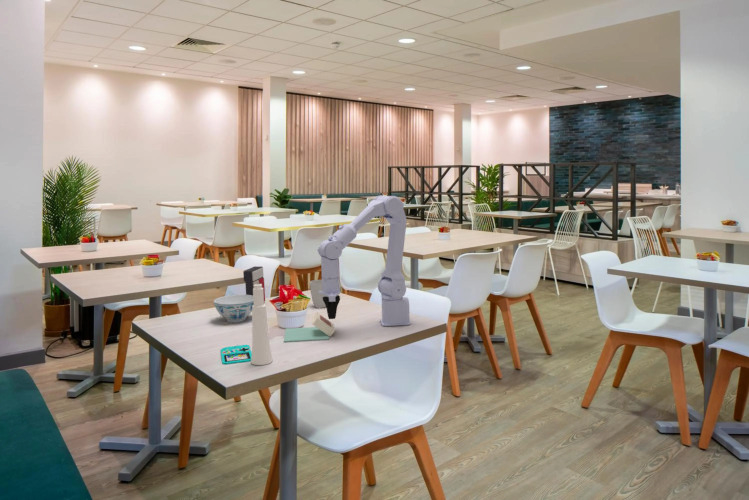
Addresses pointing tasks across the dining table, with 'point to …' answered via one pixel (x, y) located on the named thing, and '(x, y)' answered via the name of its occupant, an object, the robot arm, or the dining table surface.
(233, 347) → the handheld gaming console
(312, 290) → the cup
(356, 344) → the dining table surface
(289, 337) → the mat
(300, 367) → the dining table surface
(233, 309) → the chinaware
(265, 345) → the cosmetic bottle
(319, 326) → the card box
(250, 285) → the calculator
